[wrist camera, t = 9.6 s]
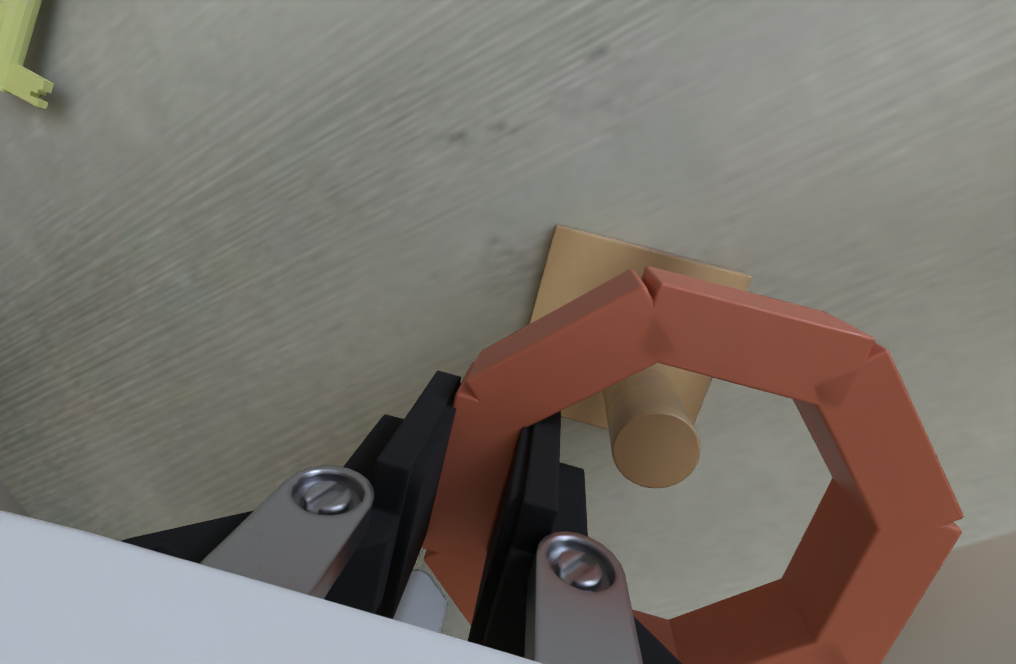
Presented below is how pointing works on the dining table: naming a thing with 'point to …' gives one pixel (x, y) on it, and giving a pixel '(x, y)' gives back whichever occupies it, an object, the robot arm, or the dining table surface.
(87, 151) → the dining table surface
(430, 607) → the power adapter
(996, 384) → the dining table surface
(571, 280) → the peg stand
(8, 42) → the key
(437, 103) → the dining table surface
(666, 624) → the ring
